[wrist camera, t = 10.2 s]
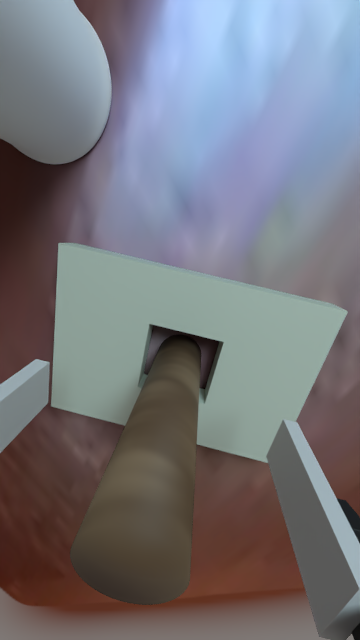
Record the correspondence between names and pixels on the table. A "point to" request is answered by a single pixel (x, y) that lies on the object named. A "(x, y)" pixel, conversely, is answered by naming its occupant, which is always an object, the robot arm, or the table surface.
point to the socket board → (194, 318)
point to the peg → (148, 489)
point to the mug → (51, 80)
